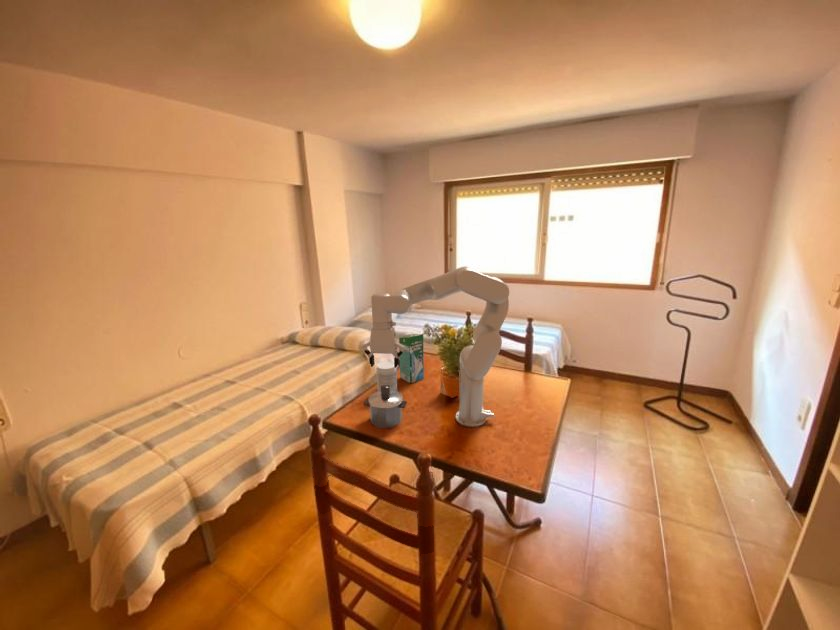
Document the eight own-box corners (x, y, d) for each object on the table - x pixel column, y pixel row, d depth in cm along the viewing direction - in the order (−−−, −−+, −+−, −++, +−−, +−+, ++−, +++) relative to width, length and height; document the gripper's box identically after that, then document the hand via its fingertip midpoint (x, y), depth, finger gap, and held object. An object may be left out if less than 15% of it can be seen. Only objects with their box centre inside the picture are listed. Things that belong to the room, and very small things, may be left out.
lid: (404, 395, 145) (404, 379, 144) (400, 412, 132) (399, 395, 130) (372, 394, 147) (372, 378, 145) (364, 410, 133) (364, 394, 131)
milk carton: (413, 373, 186) (412, 329, 180) (423, 378, 179) (423, 333, 173) (400, 377, 181) (398, 333, 174) (410, 383, 174) (409, 337, 168)
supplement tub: (401, 394, 163) (400, 366, 159) (383, 399, 158) (382, 370, 154) (391, 386, 171) (390, 359, 167) (374, 391, 165) (372, 364, 162)
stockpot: (409, 412, 146) (408, 394, 144) (403, 429, 134) (402, 409, 132) (370, 410, 149) (369, 391, 146) (361, 426, 136) (360, 406, 134)
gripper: (406, 322, 134) (407, 363, 138) (363, 322, 136) (366, 361, 140) (402, 328, 126) (403, 370, 131) (357, 327, 129) (360, 368, 133)
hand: (384, 366), depth 135 cm, fingers open, 9 cm apart
